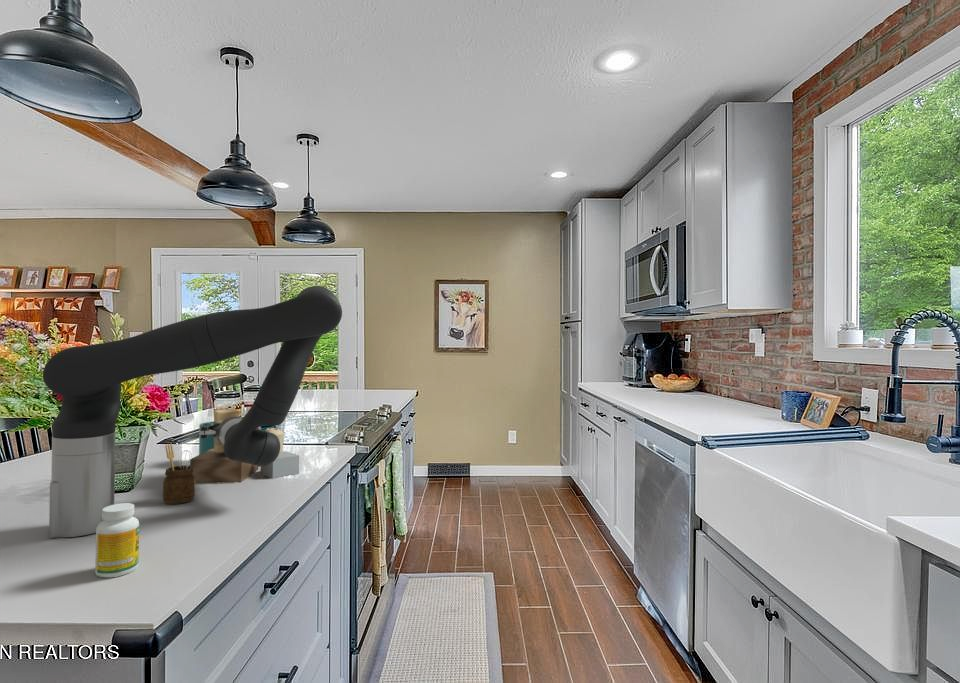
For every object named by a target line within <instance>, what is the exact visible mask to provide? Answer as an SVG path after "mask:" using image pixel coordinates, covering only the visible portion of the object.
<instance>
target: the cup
mask: <svg viewBox="0 0 960 683" xmlns="http://www.w3.org/2000/svg"><path fill="white" fill-rule="evenodd" d="M211 422H212V421H207V422H201V423H200V424H199V428H198V429H199V431H198V436H199V437H198V455H200V454H202V453H204V452H206V451H208V450H210V449H212V448H214V436H213V434H209V437H206V438H200V431H201V427H202V425H203V424H211Z"/></svg>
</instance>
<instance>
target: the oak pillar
mask: <svg viewBox="0 0 960 683" xmlns="http://www.w3.org/2000/svg"><path fill="white" fill-rule="evenodd" d="M213 415H214V416H213V417H214V420H213V422H215V423H218V422H222V421H224V420H225V419H227V418H229V417H235V416H236V417H240V410H238V409H236V408H233V409H218V410H217V409H215V410H214V413H213ZM214 450H215V451H216V452H217V453H222V452H224V446H223V445H222V444H221V443H220V442H219V441H218V439H217V437H214Z"/></svg>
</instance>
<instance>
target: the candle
mask: <svg viewBox="0 0 960 683" xmlns="http://www.w3.org/2000/svg"><path fill="white" fill-rule="evenodd" d="M265 431H267V432H270V433H273V434H275V435H276V436H277V437H278V439H279V441H280V452H284V432H283V431H282V430H280V428H279V427H271V428H266V430H265Z"/></svg>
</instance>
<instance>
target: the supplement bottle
mask: <svg viewBox="0 0 960 683" xmlns="http://www.w3.org/2000/svg"><path fill="white" fill-rule="evenodd" d="M134 514H135V504H133V503H128V502H124V503H123V502H121V503H114V505H110V506H107V507H105V508H103V509H102V519H103V520H104V521H102V522H101V523H100V524H99V525H98V526H97V528H96V533H95V566H94V570H95V574H96V576H97V577H98V578H118V577H122V576H124V575H128V574H130V573H132V572H134V571H135V570H136V569H137V568H138V567H139V562H140V561H139V560H140V557H139V550H140V521H139V519H138V518H136V517H135V516H134Z"/></svg>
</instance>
